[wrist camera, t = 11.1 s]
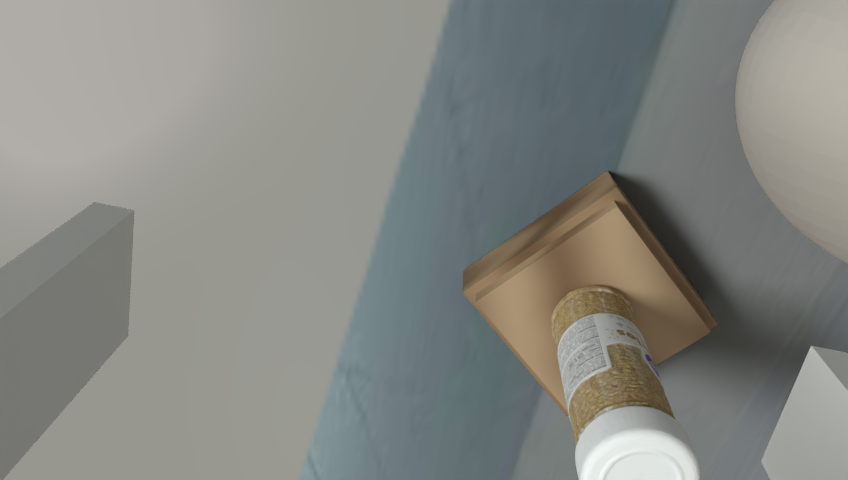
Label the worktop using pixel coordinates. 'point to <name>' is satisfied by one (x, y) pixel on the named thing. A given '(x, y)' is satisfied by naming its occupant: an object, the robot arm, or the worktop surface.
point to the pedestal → (584, 280)
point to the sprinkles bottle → (616, 393)
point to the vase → (799, 115)
